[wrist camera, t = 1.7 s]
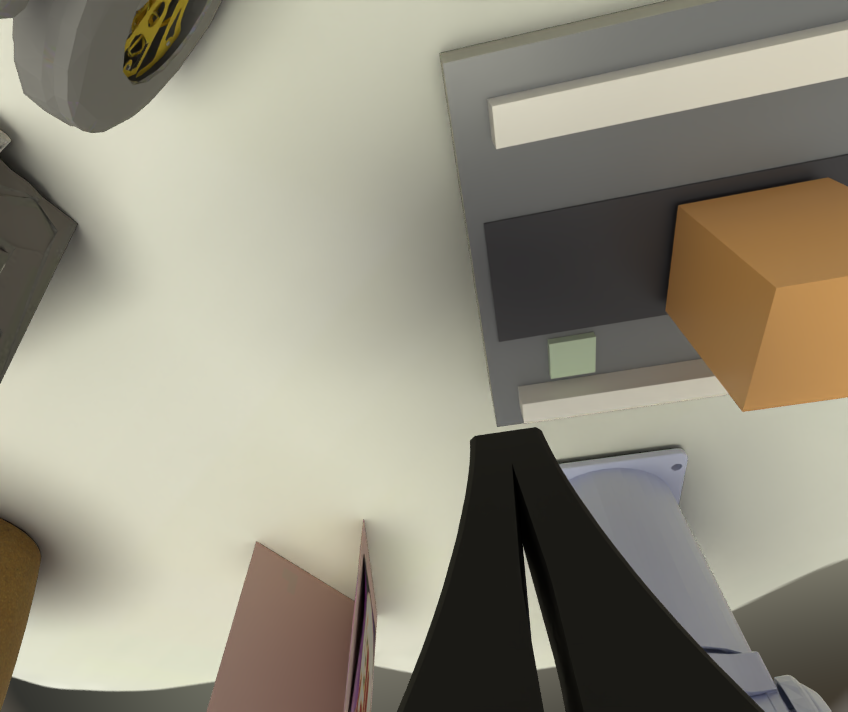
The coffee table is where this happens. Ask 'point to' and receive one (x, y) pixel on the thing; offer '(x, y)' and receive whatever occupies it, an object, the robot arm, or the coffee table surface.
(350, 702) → the greeting card
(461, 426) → the coffee table surface
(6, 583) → the plant pot
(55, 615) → the coffee table surface
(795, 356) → the block
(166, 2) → the pocket watch
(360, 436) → the coffee table surface
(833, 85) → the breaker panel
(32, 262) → the electrical switch
